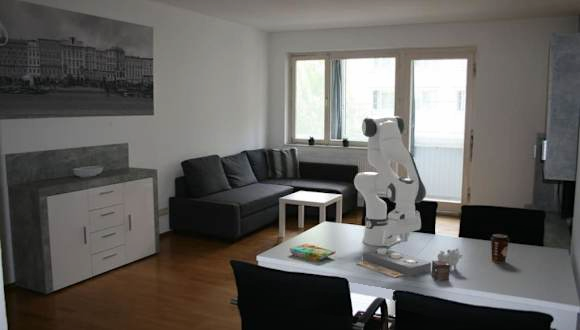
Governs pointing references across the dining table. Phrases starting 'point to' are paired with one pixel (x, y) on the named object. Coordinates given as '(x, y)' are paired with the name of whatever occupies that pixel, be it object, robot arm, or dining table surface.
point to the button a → (381, 251)
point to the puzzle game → (311, 252)
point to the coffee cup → (499, 247)
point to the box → (440, 270)
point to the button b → (395, 255)
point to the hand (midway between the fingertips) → (404, 241)
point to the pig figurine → (450, 257)
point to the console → (397, 262)
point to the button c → (410, 261)
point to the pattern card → (380, 269)
